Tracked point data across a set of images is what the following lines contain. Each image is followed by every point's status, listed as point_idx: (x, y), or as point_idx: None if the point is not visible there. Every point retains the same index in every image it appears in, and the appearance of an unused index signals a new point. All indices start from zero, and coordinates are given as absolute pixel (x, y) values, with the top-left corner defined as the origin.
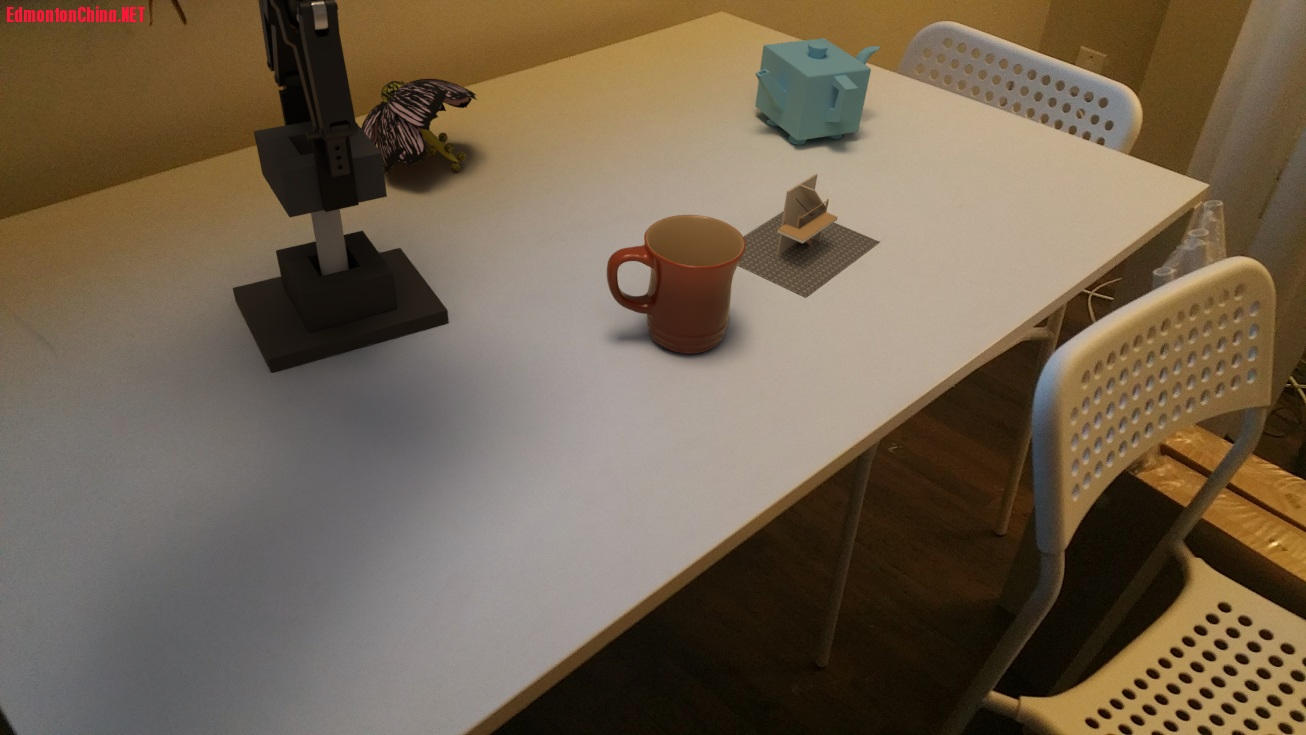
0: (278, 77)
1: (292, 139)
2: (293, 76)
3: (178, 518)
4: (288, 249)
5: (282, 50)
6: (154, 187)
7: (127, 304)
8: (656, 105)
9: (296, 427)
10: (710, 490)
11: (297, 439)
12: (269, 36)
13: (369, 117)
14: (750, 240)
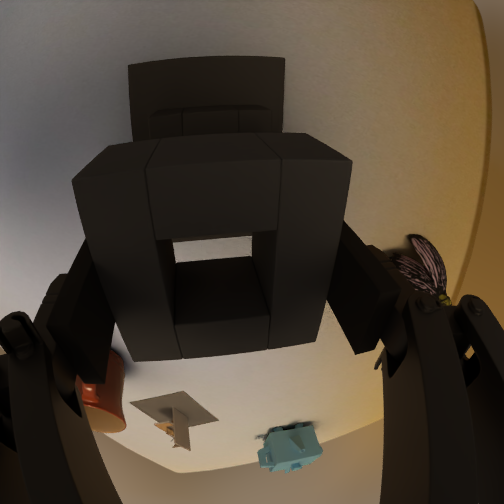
0: (415, 322)
1: (274, 233)
2: (401, 346)
3: (4, 10)
4: (266, 124)
5: (419, 432)
6: (475, 88)
7: None
8: (353, 393)
9: (50, 84)
10: None
11: (37, 85)
12: (501, 389)
13: (439, 275)
14: (191, 403)
